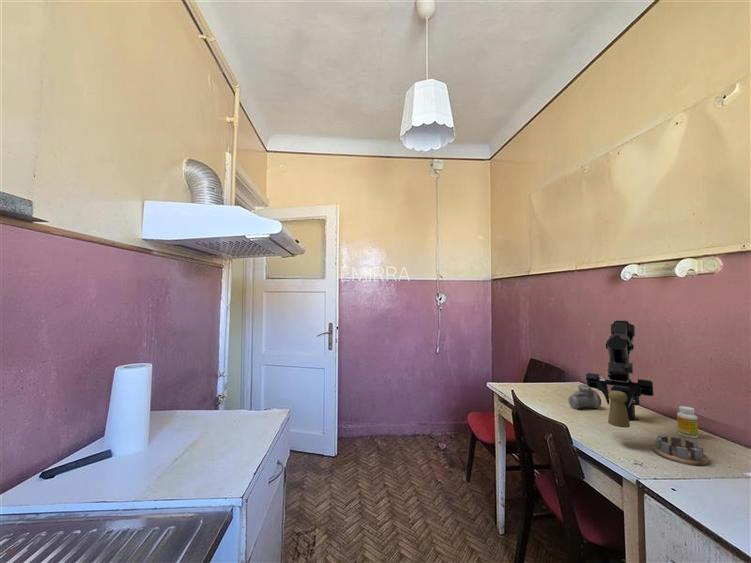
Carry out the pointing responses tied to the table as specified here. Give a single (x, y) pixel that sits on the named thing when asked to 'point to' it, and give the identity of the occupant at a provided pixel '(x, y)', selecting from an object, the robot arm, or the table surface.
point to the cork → (618, 409)
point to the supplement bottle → (687, 422)
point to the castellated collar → (681, 452)
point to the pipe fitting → (585, 398)
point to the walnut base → (679, 460)
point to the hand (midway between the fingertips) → (617, 405)
